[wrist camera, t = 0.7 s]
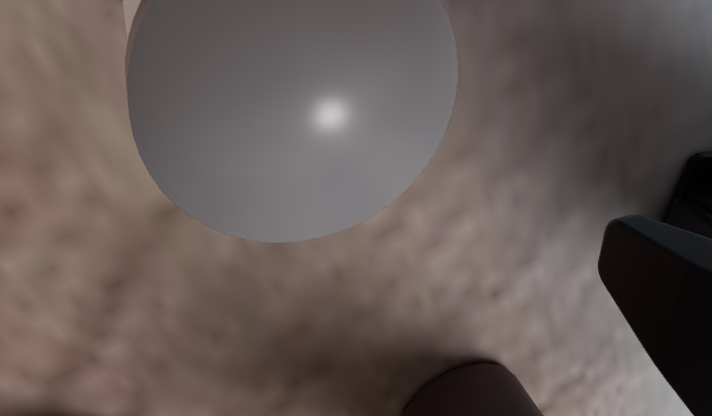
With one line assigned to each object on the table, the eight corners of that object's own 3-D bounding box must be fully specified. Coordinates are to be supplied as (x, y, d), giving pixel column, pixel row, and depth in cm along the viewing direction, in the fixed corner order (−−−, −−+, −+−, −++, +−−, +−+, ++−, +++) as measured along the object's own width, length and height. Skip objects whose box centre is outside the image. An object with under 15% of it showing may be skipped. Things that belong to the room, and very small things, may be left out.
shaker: (305, -141, 17) (486, -68, 9) (297, 46, 20) (432, 225, 12) (100, -156, 16) (108, -85, 8) (122, 50, 19) (144, 259, 11)
